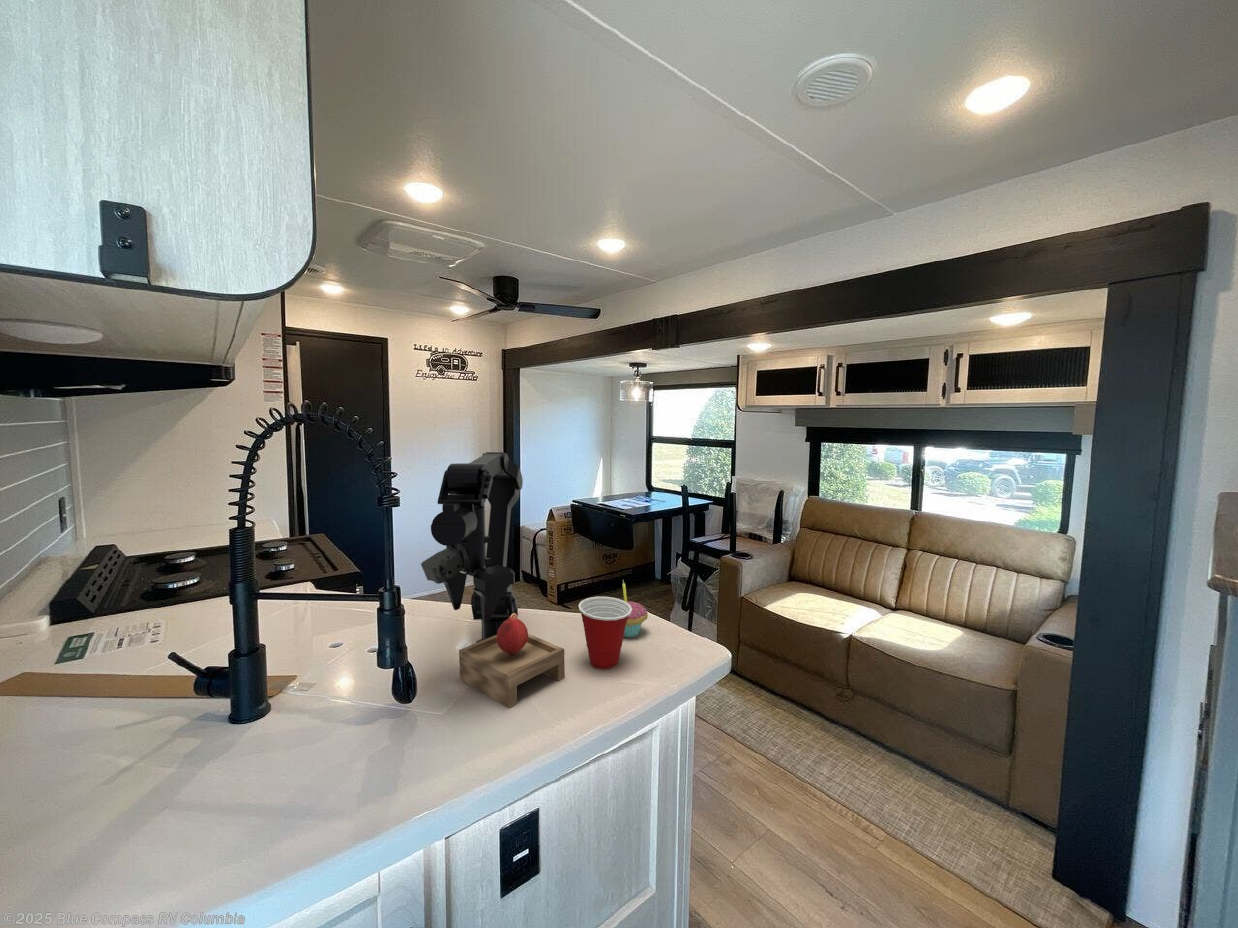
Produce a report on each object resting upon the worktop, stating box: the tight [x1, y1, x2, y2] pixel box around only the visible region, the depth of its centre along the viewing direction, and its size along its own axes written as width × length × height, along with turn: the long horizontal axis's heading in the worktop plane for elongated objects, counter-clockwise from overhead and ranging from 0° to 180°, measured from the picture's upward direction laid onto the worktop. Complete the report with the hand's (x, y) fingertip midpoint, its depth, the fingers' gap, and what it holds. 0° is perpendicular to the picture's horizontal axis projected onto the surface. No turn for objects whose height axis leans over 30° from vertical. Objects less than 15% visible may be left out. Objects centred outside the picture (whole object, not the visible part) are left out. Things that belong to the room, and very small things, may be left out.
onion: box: [497, 613, 529, 655], centre depth 93 cm, size 6×6×8 cm
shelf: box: [458, 633, 566, 709], centre depth 93 cm, size 15×13×6 cm
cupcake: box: [622, 579, 649, 638], centre depth 113 cm, size 9×8×12 cm
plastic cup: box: [578, 596, 632, 670], centre depth 99 cm, size 11×11×12 cm
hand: (471, 615), depth 91 cm, fingers open, 9 cm apart
